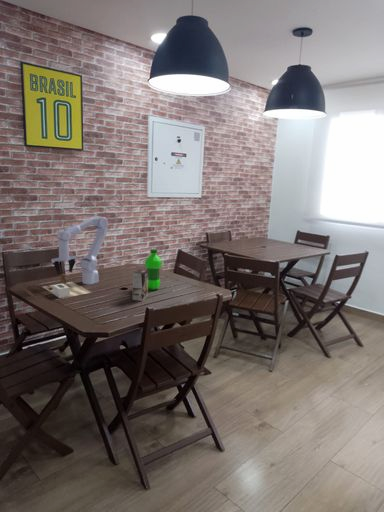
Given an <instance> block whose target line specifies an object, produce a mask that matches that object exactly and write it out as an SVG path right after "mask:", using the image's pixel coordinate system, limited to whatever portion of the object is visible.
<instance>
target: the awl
mask: <svg viewBox="0 0 384 512" xmlns="http://www.w3.org/2000/svg"><path fill="white" fill-rule="evenodd" d="M59 275H60V284H61V283H62V284H65V283H67V274H65V273H62V274H61V273H60V274H59Z"/></svg>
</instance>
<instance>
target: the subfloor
mask: <svg viewBox="0 0 384 512" xmlns="http://www.w3.org/2000/svg"><path fill="white" fill-rule="evenodd" d="M57 284H58V283H55V284H54V285H57ZM60 284H62V283H61V282H60ZM52 285H53V284H51V285H44V286H42V288H43V289H45V290H47V291H48V292H49V293H51V294H52V295H54V294H53V286H52ZM65 285H66V286H68V287H70V296H67V297H62V298H61V299H63V298H70V297H76V296H82V295H86V294H92V293H93V292H92V291H90V290H88V289H86V288H84V287H83V286H81V285H79V284H77V283H76V282H73V281H68V282H66V283H65ZM54 296H55V297H57V296H56V295H54ZM57 298H59V297H57ZM59 299H60V298H59Z"/></svg>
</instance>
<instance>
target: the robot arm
mask: <svg viewBox="0 0 384 512" xmlns="http://www.w3.org/2000/svg"><path fill="white" fill-rule="evenodd" d="M92 226H94V227H95V229H96V231H97V233H96V235H95V237H94V240H93V242H92V244H91V246H90V249H89V251H88V253H87V255H85V256H84V257H83V259H82V260H81V261H80V263H79V265H80V268H81V270H82V275H81V276H82V284H83V285H93V284H96V283H99V280H100V279H99V277H100V276H99V272H98V270H97V265H98V259H97V257H98V256H99V255H98V254H99V252H100V250H101V248H102V246H103V242H104V241H105V239H106V237H107V234H108V226H109V221H108V219H107V217H105V216H98V215H93V216H91V217H90V218H88V219H86V220H84V221H82V222H81V223H79V224H73V223H72V224H71V225H70V226H68V227H65V228H64V229H61V230H58V231H57V233H56V235H55V236H56V238H57V239H58V257H55V258H51V263H52V264H53V266H54V268H55V270H56V275H57V274H58V275H61V272H60V271H61V270H60V269H61V268H60V267H61V263H60V262H66V261H68V272H69V273H72V272H73V268H74V266H75V264H76V263H77V262H76V261H77V256H75V255H74V256H73V255H72V256H70V239H71V238H72V237H74V236H76V235H79V234H80V233H81V231H82V230H83V229H86V228H88V227H92Z"/></svg>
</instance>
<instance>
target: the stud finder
mask: <svg viewBox="0 0 384 512" xmlns="http://www.w3.org/2000/svg"><path fill="white" fill-rule="evenodd" d="M56 284H57V285H55V284H51V285H52V286H53V288H52V290H53V294H52V295H54V296H55V295H56V296H55V297H57V298H58V297H59V299H63V298H62V297H66V298H68V297H67V296H70V287H68V286H66V285H65V284H61V283H56Z"/></svg>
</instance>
